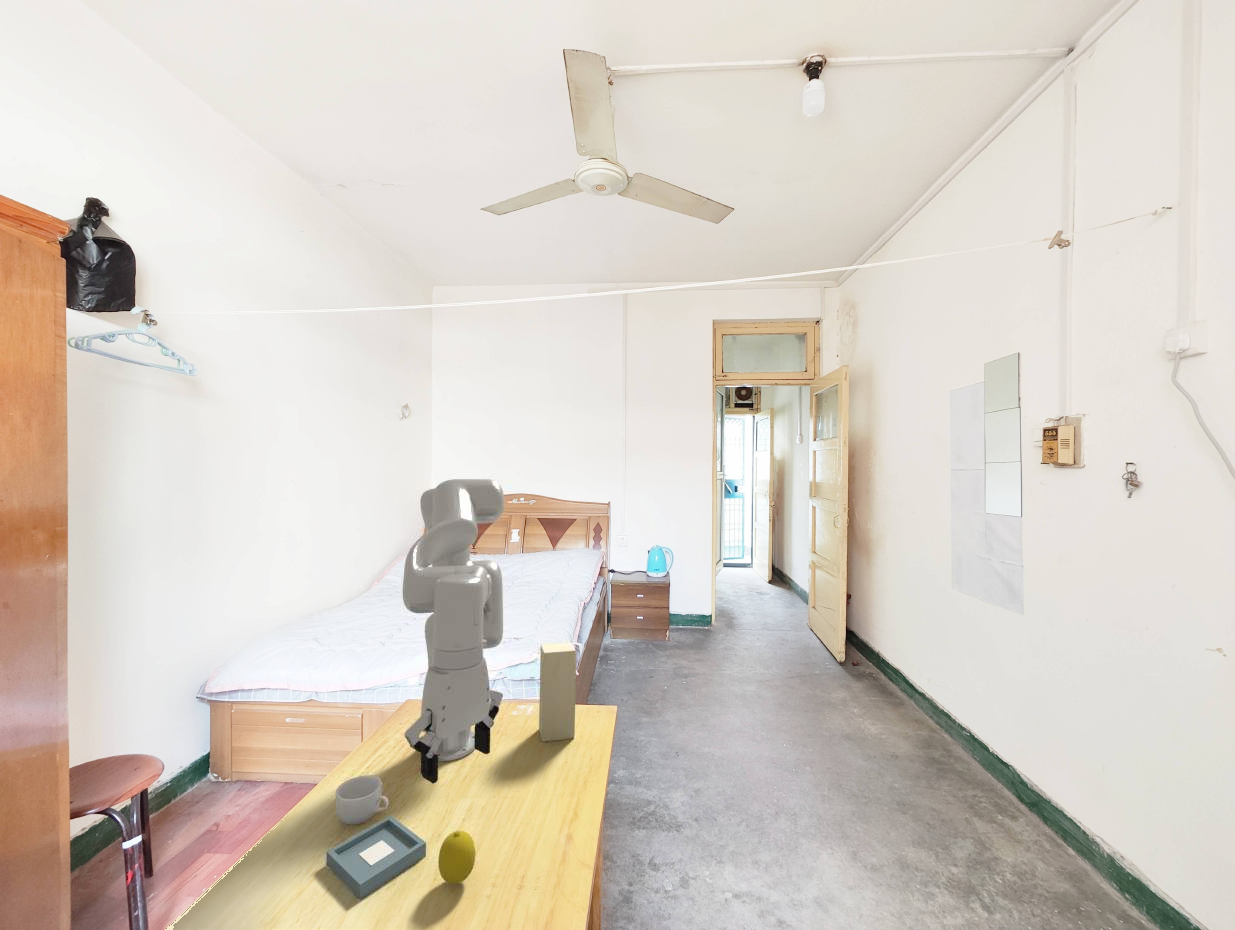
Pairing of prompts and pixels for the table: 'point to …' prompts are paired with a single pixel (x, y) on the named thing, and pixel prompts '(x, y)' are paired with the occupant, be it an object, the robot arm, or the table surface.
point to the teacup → (359, 799)
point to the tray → (375, 856)
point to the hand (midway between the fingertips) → (457, 764)
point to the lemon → (456, 857)
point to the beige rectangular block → (557, 691)
